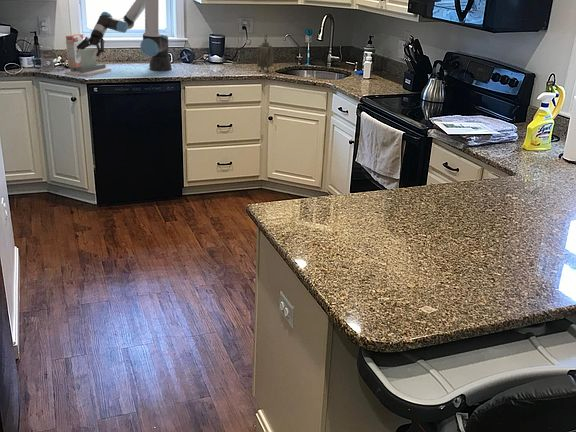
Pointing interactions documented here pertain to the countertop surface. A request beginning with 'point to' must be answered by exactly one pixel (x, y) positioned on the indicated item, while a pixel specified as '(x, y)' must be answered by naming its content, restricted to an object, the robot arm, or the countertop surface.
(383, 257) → the countertop surface
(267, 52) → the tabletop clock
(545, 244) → the countertop surface
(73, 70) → the grey flat block
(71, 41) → the cracker box
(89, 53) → the door panel
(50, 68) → the french press
